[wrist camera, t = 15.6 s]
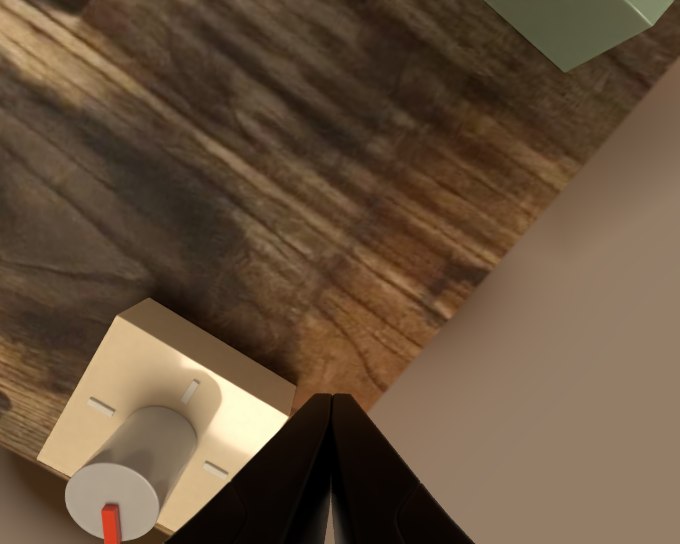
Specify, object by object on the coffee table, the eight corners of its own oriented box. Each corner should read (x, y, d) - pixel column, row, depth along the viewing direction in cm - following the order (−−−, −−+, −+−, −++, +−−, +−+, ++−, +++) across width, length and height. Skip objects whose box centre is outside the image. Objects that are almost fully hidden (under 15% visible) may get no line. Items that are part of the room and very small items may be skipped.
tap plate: (296, 386, 22) (289, 418, 19) (215, 500, 24) (195, 546, 20) (149, 297, 20) (114, 315, 17) (76, 424, 22) (33, 461, 19)
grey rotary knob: (119, 403, 19) (53, 465, 14) (196, 408, 19) (153, 471, 14) (124, 468, 19) (64, 545, 15) (198, 473, 19) (157, 551, 15)
